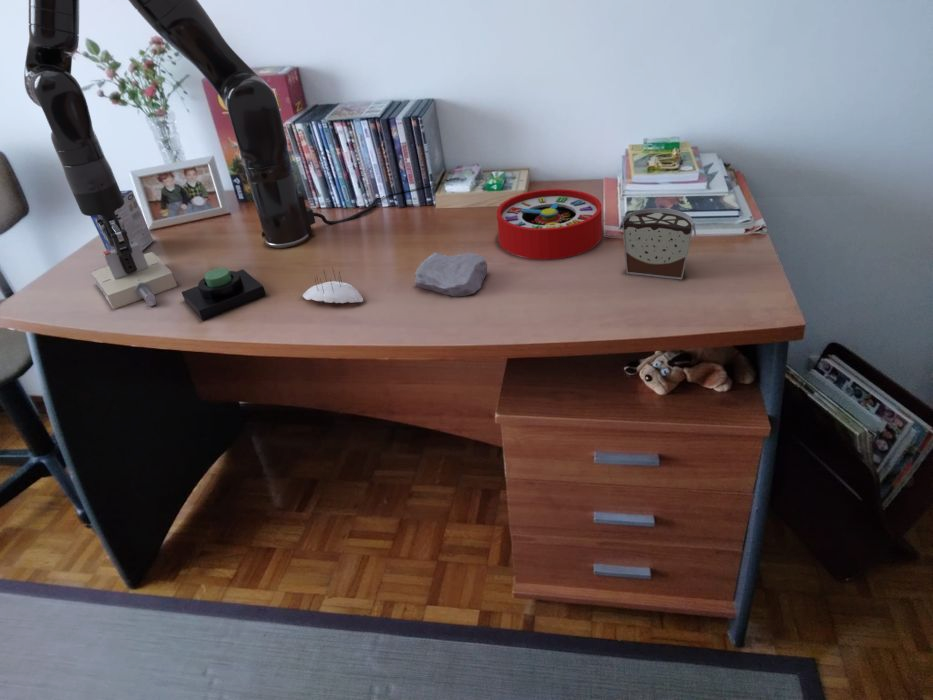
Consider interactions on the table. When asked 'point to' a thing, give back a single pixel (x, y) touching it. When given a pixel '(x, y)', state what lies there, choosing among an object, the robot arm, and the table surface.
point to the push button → (217, 277)
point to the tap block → (134, 282)
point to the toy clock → (549, 223)
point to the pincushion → (333, 292)
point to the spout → (145, 293)
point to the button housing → (223, 295)
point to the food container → (657, 242)
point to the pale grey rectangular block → (116, 265)
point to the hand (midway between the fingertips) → (129, 269)
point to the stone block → (452, 274)
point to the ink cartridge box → (130, 222)
